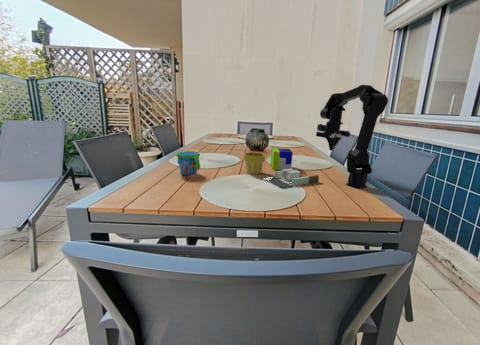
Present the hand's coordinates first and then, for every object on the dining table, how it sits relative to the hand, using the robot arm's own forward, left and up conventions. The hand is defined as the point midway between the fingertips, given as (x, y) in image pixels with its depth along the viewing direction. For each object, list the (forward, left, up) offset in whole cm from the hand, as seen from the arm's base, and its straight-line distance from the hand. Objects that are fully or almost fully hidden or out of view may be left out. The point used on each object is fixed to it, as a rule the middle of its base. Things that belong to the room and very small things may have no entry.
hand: (331, 150), depth 128 cm
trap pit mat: (-4, +37, -12) cm, 39 cm away
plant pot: (+14, +38, -12) cm, 42 cm away
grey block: (-4, +29, -12) cm, 32 cm away
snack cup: (+24, +69, -12) cm, 74 cm away
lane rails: (-4, +25, -12) cm, 28 cm away
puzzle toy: (+18, +18, -12) cm, 28 cm away
